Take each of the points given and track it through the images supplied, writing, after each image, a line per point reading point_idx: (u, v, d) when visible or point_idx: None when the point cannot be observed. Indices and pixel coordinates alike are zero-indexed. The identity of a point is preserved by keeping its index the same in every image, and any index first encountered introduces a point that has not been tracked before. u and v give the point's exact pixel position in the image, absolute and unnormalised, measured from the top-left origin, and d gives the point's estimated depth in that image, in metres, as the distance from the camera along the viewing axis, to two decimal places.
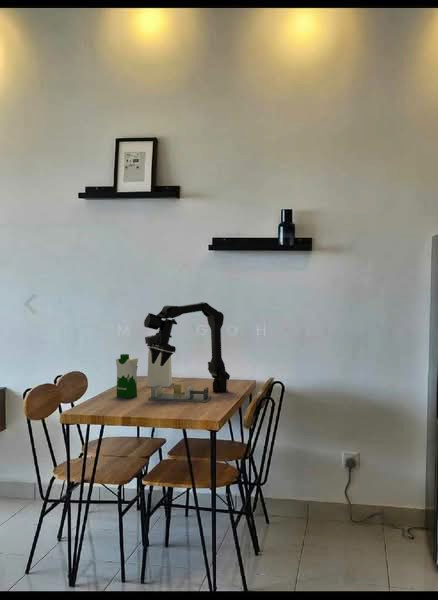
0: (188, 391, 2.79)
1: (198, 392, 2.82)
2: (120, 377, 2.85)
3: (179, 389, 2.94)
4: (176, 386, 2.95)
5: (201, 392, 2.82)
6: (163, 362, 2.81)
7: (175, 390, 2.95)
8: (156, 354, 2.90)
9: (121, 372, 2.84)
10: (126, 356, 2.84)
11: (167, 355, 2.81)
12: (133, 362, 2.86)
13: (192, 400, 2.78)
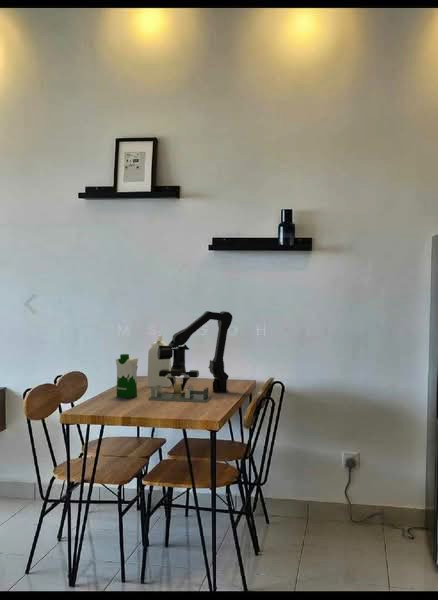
0: (188, 391, 2.79)
1: (198, 392, 2.82)
2: (120, 377, 2.85)
3: (179, 389, 2.94)
4: (176, 386, 2.95)
5: (201, 392, 2.82)
6: (184, 387, 2.98)
7: (175, 390, 2.95)
8: (175, 381, 2.99)
9: (121, 372, 2.84)
10: (126, 356, 2.84)
11: None
12: (133, 362, 2.86)
13: (192, 400, 2.78)
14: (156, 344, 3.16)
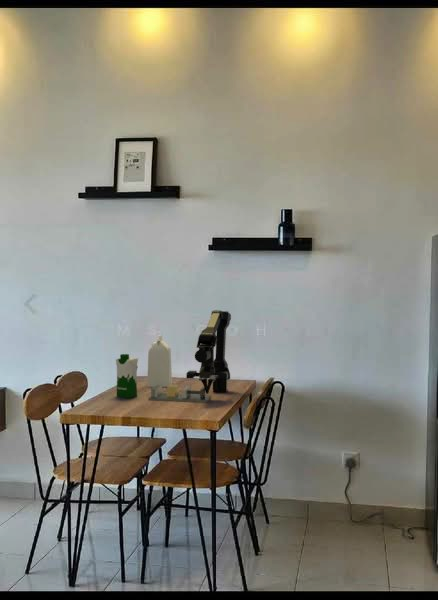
0: (185, 391, 2.79)
1: (195, 392, 2.83)
2: (120, 377, 2.85)
3: (173, 392, 2.81)
4: (170, 389, 2.82)
5: (198, 392, 2.82)
6: (209, 389, 2.83)
7: (169, 393, 2.82)
8: (206, 383, 2.83)
9: (121, 372, 2.84)
10: (126, 356, 2.84)
11: None
12: (133, 362, 2.86)
13: (192, 400, 2.78)
14: (156, 344, 3.16)
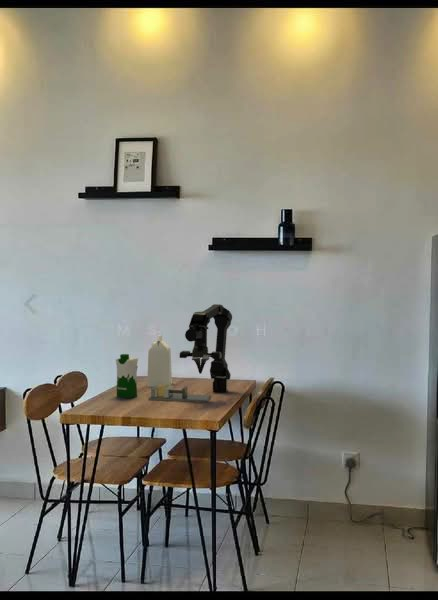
0: (167, 390, 2.80)
1: (177, 391, 2.84)
2: (120, 377, 2.85)
3: (163, 391, 2.82)
4: (160, 388, 2.82)
5: (180, 391, 2.84)
6: (202, 369, 2.83)
7: (159, 392, 2.83)
8: (200, 363, 2.83)
9: (121, 372, 2.84)
10: (126, 356, 2.84)
11: None
12: (133, 362, 2.86)
13: (192, 400, 2.78)
14: (156, 344, 3.16)
